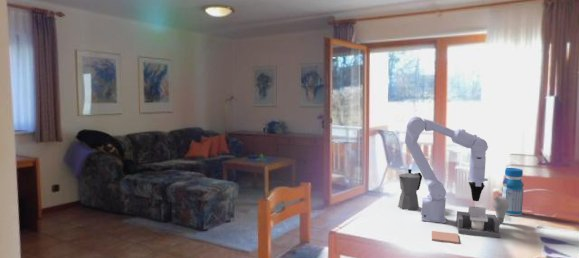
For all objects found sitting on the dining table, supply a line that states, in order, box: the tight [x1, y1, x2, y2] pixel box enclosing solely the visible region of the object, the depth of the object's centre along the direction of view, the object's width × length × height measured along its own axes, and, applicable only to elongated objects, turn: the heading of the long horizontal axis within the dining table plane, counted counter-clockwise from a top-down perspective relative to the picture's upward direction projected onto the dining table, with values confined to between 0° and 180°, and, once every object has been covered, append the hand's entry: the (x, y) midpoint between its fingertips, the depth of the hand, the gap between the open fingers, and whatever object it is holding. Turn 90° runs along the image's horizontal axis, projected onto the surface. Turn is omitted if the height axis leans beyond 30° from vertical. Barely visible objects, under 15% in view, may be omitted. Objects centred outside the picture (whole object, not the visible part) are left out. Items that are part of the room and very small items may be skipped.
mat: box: [431, 230, 460, 245], centre depth 148 cm, size 9×9×1 cm
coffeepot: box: [397, 168, 423, 211], centre depth 188 cm, size 15×9×18 cm, turn 125°
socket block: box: [455, 210, 501, 239], centre depth 157 cm, size 14×13×5 cm
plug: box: [470, 220, 485, 231], centre depth 156 cm, size 4×4×5 cm
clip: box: [468, 206, 488, 222], centre depth 156 cm, size 6×8×3 cm
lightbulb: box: [492, 195, 510, 224], centre depth 166 cm, size 6×6×11 cm
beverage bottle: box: [501, 167, 525, 217], centre depth 180 cm, size 8×8×20 cm
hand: (475, 200), depth 165 cm, fingers closed
